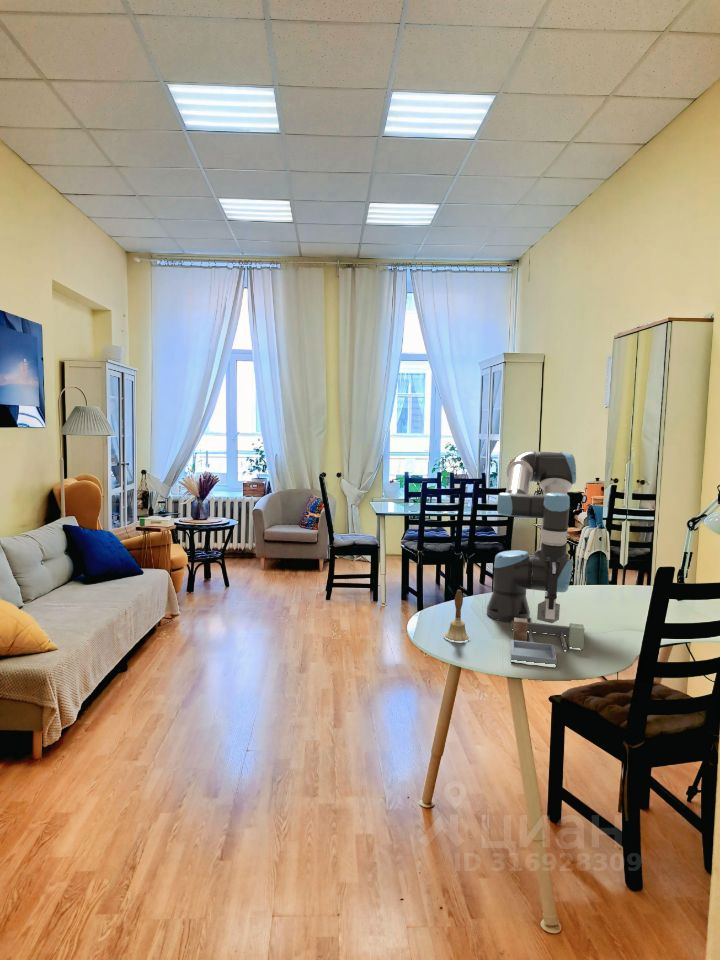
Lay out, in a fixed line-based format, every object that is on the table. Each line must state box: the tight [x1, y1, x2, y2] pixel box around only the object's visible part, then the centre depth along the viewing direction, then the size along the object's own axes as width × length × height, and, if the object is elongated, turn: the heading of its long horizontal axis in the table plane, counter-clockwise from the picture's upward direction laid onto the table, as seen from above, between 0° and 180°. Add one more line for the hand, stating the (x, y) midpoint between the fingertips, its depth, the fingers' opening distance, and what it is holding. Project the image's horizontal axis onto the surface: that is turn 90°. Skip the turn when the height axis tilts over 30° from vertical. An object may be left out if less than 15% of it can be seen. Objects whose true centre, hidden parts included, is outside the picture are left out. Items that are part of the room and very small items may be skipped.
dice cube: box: [536, 600, 561, 624], centre depth 198 cm, size 5×5×5 cm
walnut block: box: [512, 618, 528, 642], centre depth 201 cm, size 4×4×7 cm
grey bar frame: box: [510, 621, 569, 651], centre depth 202 cm, size 22×16×3 cm
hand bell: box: [444, 589, 470, 641], centre depth 201 cm, size 8×8×16 cm
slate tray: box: [510, 639, 558, 666], centre depth 188 cm, size 13×13×2 cm
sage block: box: [567, 622, 585, 650], centre depth 197 cm, size 4×4×7 cm
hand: (549, 615), depth 199 cm, fingers closed on dice cube, 6 cm apart
